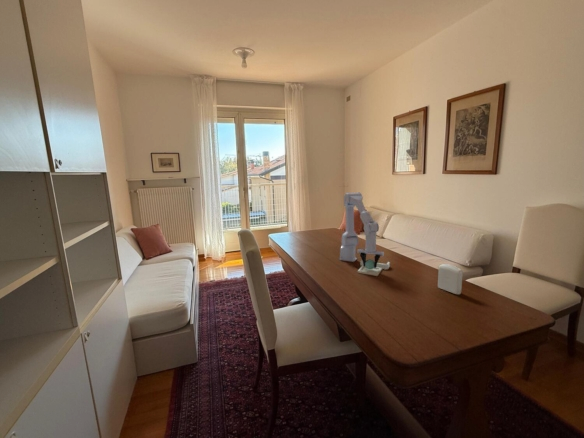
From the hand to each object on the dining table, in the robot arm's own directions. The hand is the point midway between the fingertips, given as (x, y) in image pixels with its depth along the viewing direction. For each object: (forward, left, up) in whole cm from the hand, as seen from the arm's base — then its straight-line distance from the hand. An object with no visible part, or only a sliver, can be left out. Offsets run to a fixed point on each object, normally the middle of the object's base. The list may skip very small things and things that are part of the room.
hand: (369, 266), depth 150 cm
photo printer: (+39, -9, -3) cm, 40 cm away
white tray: (0, 0, -3) cm, 3 cm away
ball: (0, 0, -2) cm, 2 cm away
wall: (+1, +10, -3) cm, 10 cm away
